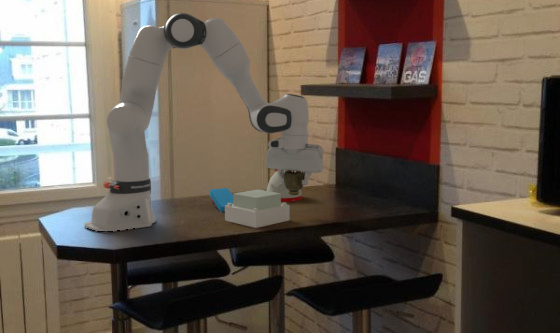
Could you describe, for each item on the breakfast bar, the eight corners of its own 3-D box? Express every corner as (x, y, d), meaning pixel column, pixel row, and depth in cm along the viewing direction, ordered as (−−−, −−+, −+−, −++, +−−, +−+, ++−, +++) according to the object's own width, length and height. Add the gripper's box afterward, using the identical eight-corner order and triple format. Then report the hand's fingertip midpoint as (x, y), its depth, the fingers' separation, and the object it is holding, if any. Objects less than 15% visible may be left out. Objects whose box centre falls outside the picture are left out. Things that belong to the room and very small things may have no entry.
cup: (289, 192, 221) (289, 169, 220) (308, 194, 217) (309, 170, 216) (278, 195, 215) (279, 171, 213) (298, 197, 211) (298, 173, 210)
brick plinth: (255, 227, 200) (255, 199, 198) (225, 220, 210) (224, 193, 209) (289, 220, 210) (289, 193, 209) (258, 213, 221) (258, 188, 219)
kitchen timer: (292, 203, 239) (292, 163, 237) (259, 200, 245) (259, 161, 242) (307, 197, 251) (307, 159, 249) (275, 194, 257) (275, 157, 255)
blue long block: (238, 222, 229) (223, 200, 244) (240, 205, 226) (224, 184, 241) (220, 224, 226) (205, 202, 241) (221, 206, 223) (207, 185, 238)
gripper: (327, 144, 212) (326, 185, 213) (272, 140, 221) (272, 180, 223) (319, 145, 206) (318, 188, 208) (264, 141, 215) (263, 182, 217)
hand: (294, 183), depth 215 cm, fingers closed on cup, 7 cm apart
